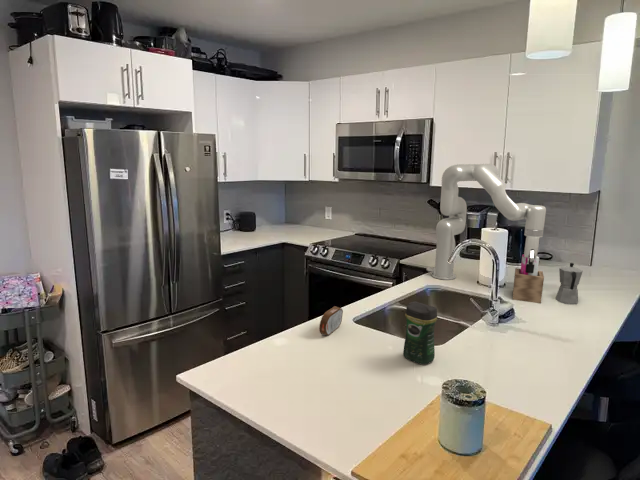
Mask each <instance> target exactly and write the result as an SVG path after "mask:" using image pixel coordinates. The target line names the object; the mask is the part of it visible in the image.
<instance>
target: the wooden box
mask: <svg viewBox="0 0 640 480" xmlns="http://www.w3.org/2000/svg"><path fill="white" fill-rule="evenodd" d="M514 269H515V271H514V276H513V277H514V279H513V287H512V300H514V301H521V302H528V303H535V304H541V303H542V297H543V287H544V280H545V276H544V273H543V270H538V273H537V276H533V275H524V274H520V272H521V268H514Z"/></svg>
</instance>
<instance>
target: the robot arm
mask: <svg viewBox="0 0 640 480" xmlns="http://www.w3.org/2000/svg"><path fill="white" fill-rule="evenodd" d="M458 182H459V183H460V182H476V183H478V184H479V185H480V186H481V187H482V188H483V189H484V190H485V191H486V192H487V193H488V195H489V196H490V197H491V200H492V202H493V204H494V206H495V208H496V209H497V210H498V212H500V213H501V214H502V215H503V217H504V218H506V219H507V220H508V221H514V222H515V221H520V220H525V227H524V234H523V235H524V236H525V237H526V238H525V243H524V250H523V251H524V252H523V253H524V257H525V258H526V257H528V261H527V264H526V273H533V272H534V259H536V257H538V252H539V247H540V246H539V245H540V238H543V237H544V228H545V220H546V214H547V208H546V207H545V206H544V205H539V204H538V205H537V204H534V205H533V204H529V203H524V202H518V203H515V202H514V201H513V200H512V199H511V198H510V197H509V195H508V194H507V192H506V187H507V183H506V182H504V180H503V179H501V177H500V176H499V169H498V167H497V166H496V165H494V164H493V163H480V164H478V163H477V164H475V163H474V164H471V163H469V164H465V163H462V164H458V163H457V164H454V165H451V166H449V167H447V168H446V169H445V170H444V171H443V173H442V175H441V193H440V206H439V208H440V209H439V210H440V213H441V214H442V215H443V216H446V217H445V218H442V219H441V220H439V221H438V222H437V224H436V226H435V233H436V246H435V247H436V251H435V252H436V253H435V265H434V267H433V266H432V267H430V266H429V267H428V266H426V271H427V272H431V277H432V278H435V279H438V280H445V281H449V280H455V279H456V278H457V275H456V274H455V273H454V265H455V261H454V262H453V263H451V264H449V263H448V262H447V261H448V258H449V256H450V255H451V253H452V252H453V250H454V249H455V250H456V239H455V236H456V235H457V236H458V235H460V234H462V233H463V232H464V231H465V228H466V224H467V222H466V221H467V212H468V211H467V210H468V209H467V208H468V206H467V202H466V200H465V199H464V198H463V197H461V196H459V186H458ZM533 257H534V258H533Z"/></svg>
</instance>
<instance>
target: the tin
mask: <svg viewBox="0 0 640 480" xmlns="http://www.w3.org/2000/svg"><path fill="white" fill-rule="evenodd" d="M343 312H344V311H343V308H341V307H339V306H335V305H334V306H333V307H332V308H330V309H328V310H326V311H325V312H324V313H323V315H322V316H321V318H320V322H319V327H318V328H319V333H320V335H324V336H330V335H332V333H334V332H335V331H336V330H337V329H339V328H340V326H341V324H342V322H343V321H342V320H343Z"/></svg>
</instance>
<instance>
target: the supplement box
mask: <svg viewBox="0 0 640 480" xmlns="http://www.w3.org/2000/svg"><path fill="white" fill-rule="evenodd" d="M533 258H534V257H533ZM527 261H528V257H526V258H525V257H524V254H522V255H521V263H520V269H521V272H520V274H524V275H533V276H537V273H538V271H539V263H540V257H539V256H537V257H536V259H534V272H533V273H526V264H527Z"/></svg>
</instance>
